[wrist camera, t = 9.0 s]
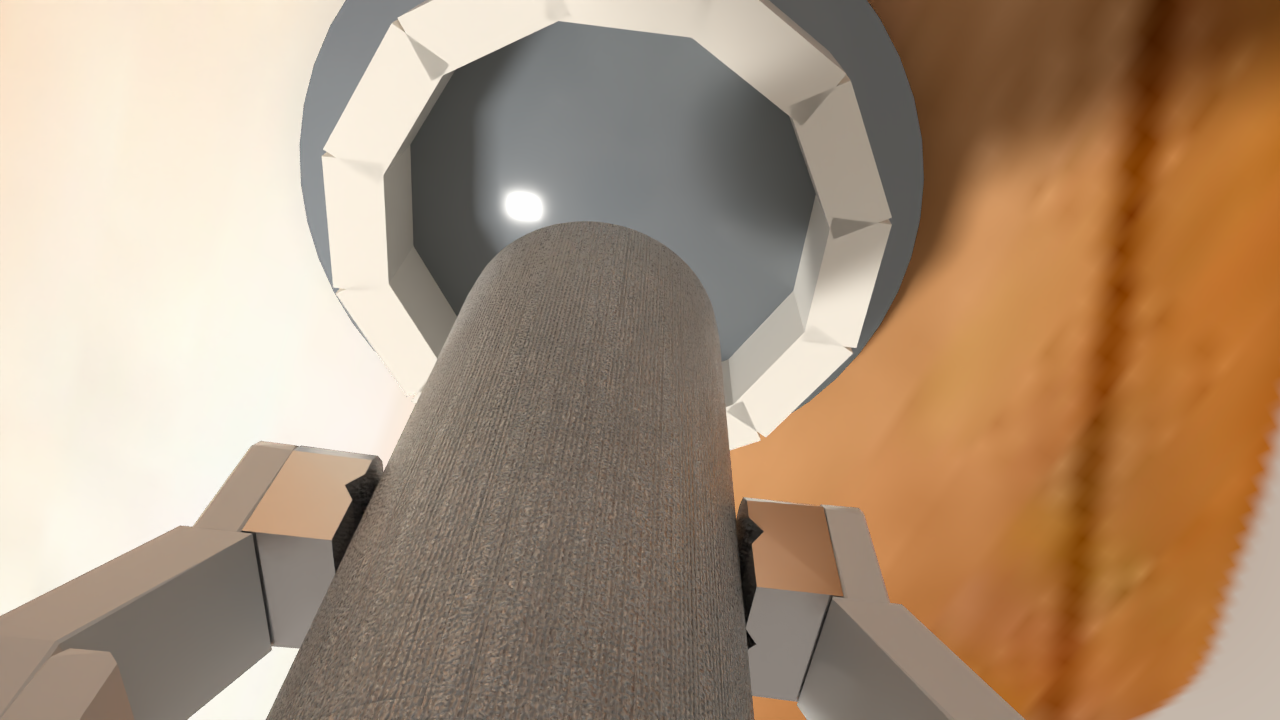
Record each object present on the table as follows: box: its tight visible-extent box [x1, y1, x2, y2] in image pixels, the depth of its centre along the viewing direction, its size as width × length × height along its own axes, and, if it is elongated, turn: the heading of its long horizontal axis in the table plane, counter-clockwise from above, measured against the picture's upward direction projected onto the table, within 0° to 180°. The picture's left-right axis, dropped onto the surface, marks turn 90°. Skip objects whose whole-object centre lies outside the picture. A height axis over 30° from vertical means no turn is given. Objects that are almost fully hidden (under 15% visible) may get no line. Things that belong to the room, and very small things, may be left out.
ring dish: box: [300, 0, 924, 450], centre depth 19 cm, size 14×14×3 cm
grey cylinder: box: [266, 221, 754, 720], centre depth 11 cm, size 4×4×10 cm
